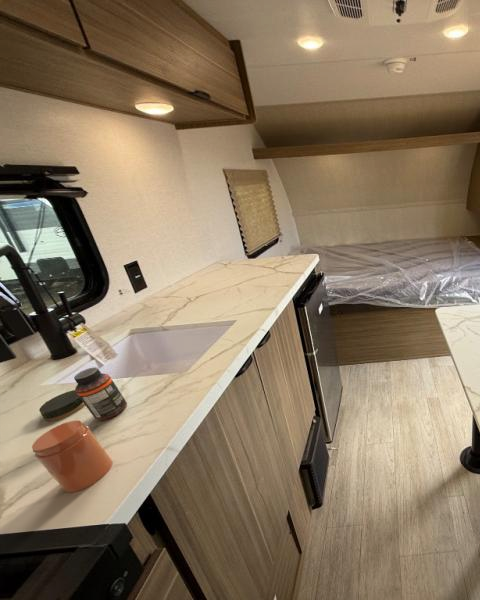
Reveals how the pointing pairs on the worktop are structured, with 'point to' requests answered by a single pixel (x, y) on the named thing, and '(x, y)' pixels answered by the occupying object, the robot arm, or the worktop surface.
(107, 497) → the worktop surface
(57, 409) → the jam lid
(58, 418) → the coaster
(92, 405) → the supplement bottle
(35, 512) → the worktop surface
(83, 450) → the jam jar
